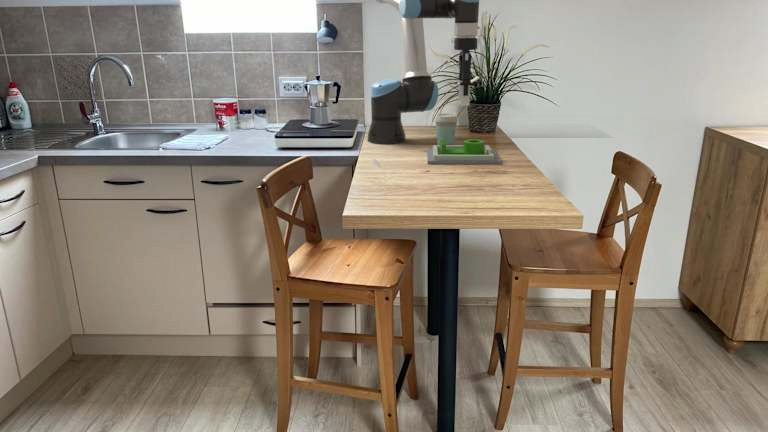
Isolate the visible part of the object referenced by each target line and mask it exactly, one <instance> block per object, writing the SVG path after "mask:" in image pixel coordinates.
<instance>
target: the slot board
mask: <svg viewBox="0 0 768 432" xmlns="http://www.w3.org/2000/svg"><path fill="white" fill-rule="evenodd" d="M446 149H464V144H460V145H458V144H457V145H456V144H454V145H446ZM426 155H427V165H502V164H501V163H502V161H501V159H500V158H499V157H500V156H499V155H498V154H497V152H496V150H495V148H491V147H490V145H488V144H487V145H485V147H484V155H441V154H440V145H438V144H436V145H435V144H433V145H432V148H427V149H426Z"/></svg>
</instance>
